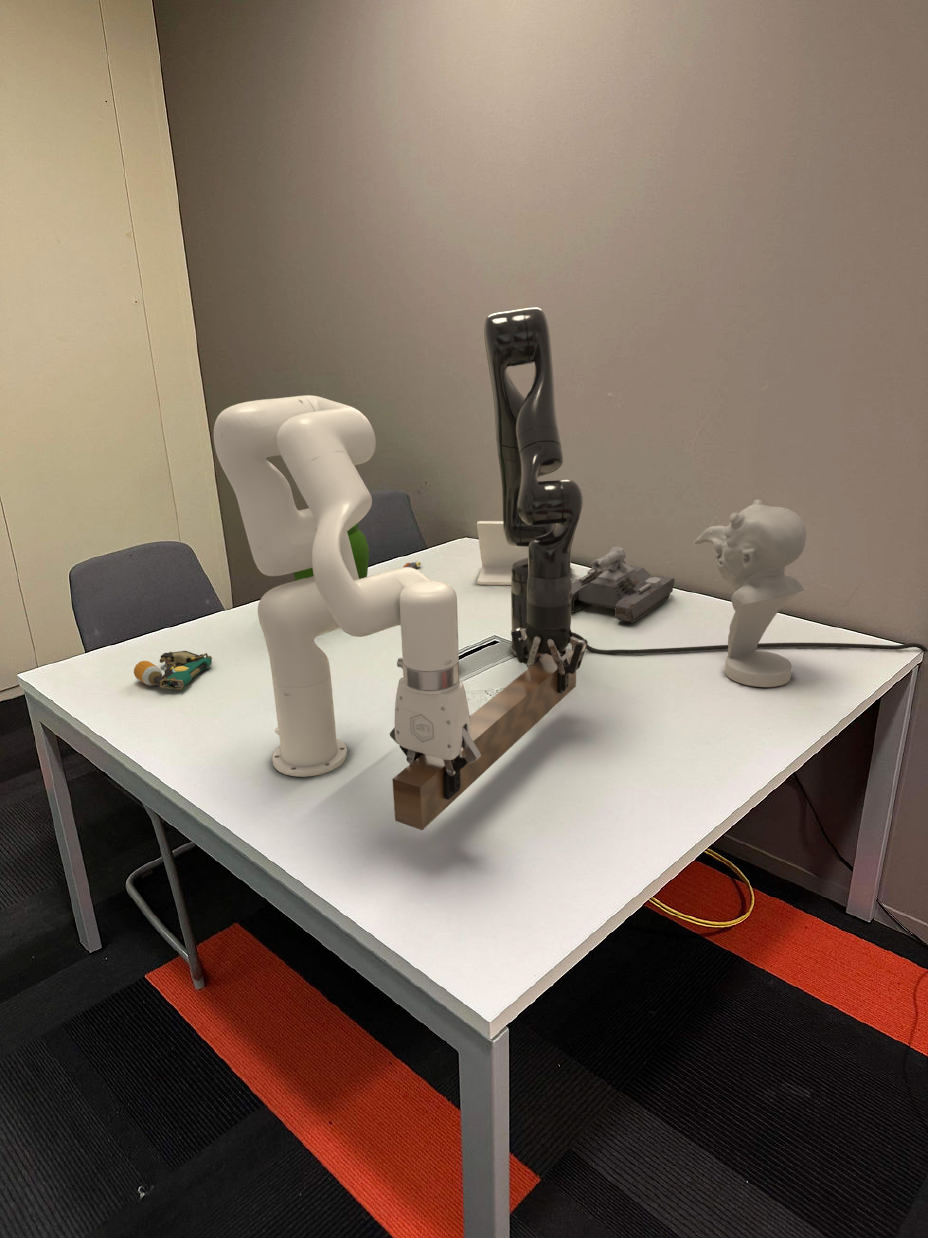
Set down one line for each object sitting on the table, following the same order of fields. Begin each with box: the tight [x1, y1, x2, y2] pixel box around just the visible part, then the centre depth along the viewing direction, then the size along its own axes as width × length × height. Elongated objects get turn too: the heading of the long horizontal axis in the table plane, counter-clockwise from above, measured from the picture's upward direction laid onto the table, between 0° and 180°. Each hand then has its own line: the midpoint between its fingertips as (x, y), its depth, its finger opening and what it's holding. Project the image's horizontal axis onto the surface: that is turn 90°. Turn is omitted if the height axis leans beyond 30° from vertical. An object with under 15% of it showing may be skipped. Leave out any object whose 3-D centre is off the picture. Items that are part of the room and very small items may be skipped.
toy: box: [571, 546, 676, 624], centre depth 212 cm, size 25×20×15 cm
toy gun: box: [402, 561, 422, 569], centre depth 242 cm, size 3×19×10 cm
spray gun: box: [133, 650, 213, 690], centre depth 180 cm, size 4×17×15 cm
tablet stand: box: [476, 520, 572, 586], centre depth 236 cm, size 18×25×17 cm
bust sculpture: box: [693, 499, 807, 688], centre depth 171 cm, size 16×24×35 cm, turn 28°
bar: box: [391, 650, 577, 831], centre depth 136 cm, size 51×4×7 cm, turn 149°
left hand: (436, 788), depth 121 cm, fingers closed on bar, 4 cm apart
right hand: (548, 688), depth 151 cm, fingers closed on bar, 4 cm apart
